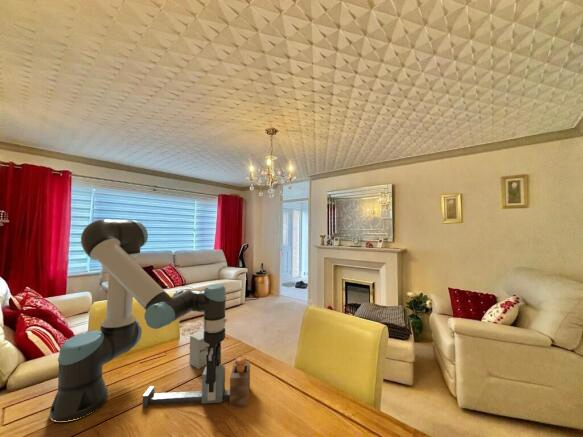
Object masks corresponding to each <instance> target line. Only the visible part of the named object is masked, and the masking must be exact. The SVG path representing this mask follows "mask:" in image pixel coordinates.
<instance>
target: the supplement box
mask: <svg viewBox="0 0 583 437" xmlns="http://www.w3.org/2000/svg"><path fill="white" fill-rule="evenodd" d="M208 347H209V344H208V343H205V342H204V330H202V331H199V332H196V333H195V334H191V335H190V336H189V365H191V366H193V367H194V368H196V369H197V370H199V369H201V368H203V367H204V366H205V367H206V366H207V361H206V356H207V355H208V352H207V350H208Z"/></svg>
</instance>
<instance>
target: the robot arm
mask: <svg viewBox="0 0 583 437" xmlns="http://www.w3.org/2000/svg"><path fill="white" fill-rule="evenodd" d="M148 238H149V234H148V230H147V228H146V226H144V224H143V223H141V222H140V221H137V220H131V219H105V218H103V219H97V220H95V221H92V222H90V223H89V224H88V225H87V226H86V227H85V228H84V229H83V231H82V233H81V236H80V243H81V247H82V249H83V251H84V252H85V253H86V255H87V256H88V257H89V258H90V259H91V260H92V261H95V262H99V263H100V264H101V265H102V267H104V269H105V270H107V271H108V280H107V281H108V282H107V294H106V295H107V297H106V299H107V300H106V311H105V318H104V319H103V320H102V321H101V322H100V329H99V330H89V331H86V332H81V333H78V334H76V335H74V336H71V337H70V338H69V339H67V340H66V341H65V342H63V343H62V345H61V346H60V348H59V353H58V354H59V355H58V358H57V361H58V375H57V376H58V377H57V379H58V380H57V382H58V383H57V392H56V395H55V396H54V400H53V402H52V403H51V404H52V405H51V406H50V410H49V418H50V417H51V418H52V419H53V420H56V421H68V420H73V419H77V418H80V417H83V416H85V415H87V414H89V413H91V412H93V411H95V410H96V409H98V408H99V409H101V407H103V406H104V405H105V403H106V402H107V401H106V400H108V399H109V398H108V397H109V395H108V394H109V390H108V387H107V385H106V383H105V380H104V378H103V367H104V365H106V364H107V363H109V362H111V361H113V360H114V359H116V358H118V357H120V356H121V355H123V354H125V353H127V352H129V351H130V350H131V349H133V348H135V347H136V346H137V345H138V343H139V342H140V341H141V337H142V334H143V333H142V332H143V331H142V330H143V329H142V326H141V325H140V322H139V321H138V320H137V318H136V316H135V315H133V302H134V299H135V300H136V302H137V303H138V304H139V305H141V307H142V308H143V309H144V310H145V312H144V317H143V318H144V320H145V324H146V325H147V326H148V327H149V328H151V329H155V330H156V329H157V330H158V329H161V328H163V327H166V326H168V325H170V324H172V323H173V322H175V321H177V320H178V319H180V318H182V317H184V316H185V315H187V314H189V313H191V312H197V313H198V312H200V313H203V331H204V342H205V343H208V344H209V347H208V350H207V352H208V355H207V356H206V361H207V365H206V366H207V367H206V366H205V367H206V381H205V383H206V384H208V398H207V401H211V400H216V379H215V376H216V366H221V364H222V361H221V360H222V359H221V358H222V342H223V341H225V339H226V328H225V327H226V322H227V321H228V319H227V318H226V299H227V296H226V287H225V286H224V285H222V284H210V285H206V286H205V287H204V289H203V290H200V289H189V288H181V289H178V290H176V291H175V293H173V295H172V296H171V295H170V294H168V293H167V292H166V291H165V290H164V289H163V288H162V287H161V286H160V285H159V283H158V282H156V280H155V279H154V278H152V276H150V275H149V274H148V272H147V271H145V270H144V269H143V267H141V266H140V264H138V263H137V261H136V258H137V257H138V255H140V254H141V248H142V247H143V246H145V244H146V243H147V242H148ZM99 409H98V410H99ZM96 411H97V410H96ZM96 411H95V412H96ZM93 413H94V412H93ZM91 414H92V413H91ZM83 418H84V417H83Z"/></svg>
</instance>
